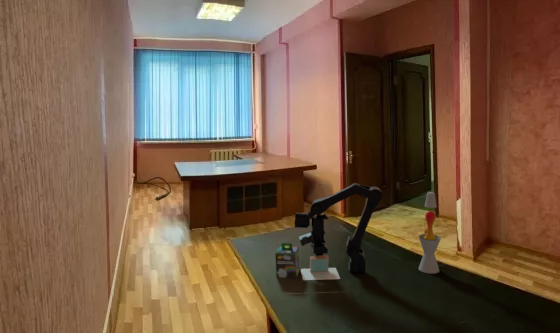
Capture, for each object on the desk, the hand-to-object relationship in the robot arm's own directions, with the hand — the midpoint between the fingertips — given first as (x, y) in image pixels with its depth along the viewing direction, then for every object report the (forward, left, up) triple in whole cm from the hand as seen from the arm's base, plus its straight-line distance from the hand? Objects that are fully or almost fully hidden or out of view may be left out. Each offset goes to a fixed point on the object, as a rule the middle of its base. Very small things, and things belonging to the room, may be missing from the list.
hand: (318, 261), depth 171 cm
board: (0, +5, -4) cm, 6 cm away
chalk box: (+14, +3, -4) cm, 15 cm away
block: (0, +2, -3) cm, 4 cm away
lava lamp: (-49, +3, -4) cm, 49 cm away
